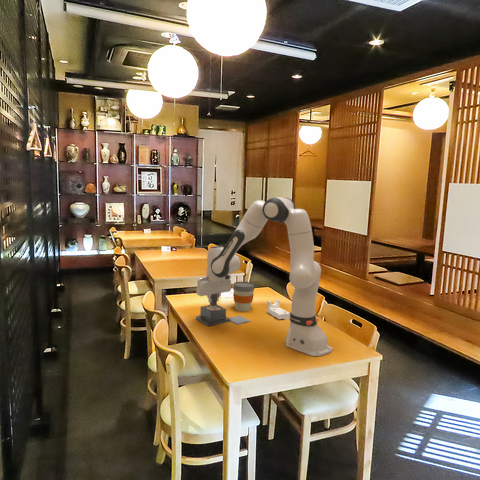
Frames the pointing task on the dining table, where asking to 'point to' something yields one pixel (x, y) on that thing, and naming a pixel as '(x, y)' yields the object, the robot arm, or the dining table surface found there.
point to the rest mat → (239, 320)
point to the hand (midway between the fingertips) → (213, 301)
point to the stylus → (213, 301)
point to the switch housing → (212, 316)
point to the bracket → (277, 310)
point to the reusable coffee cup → (243, 295)
